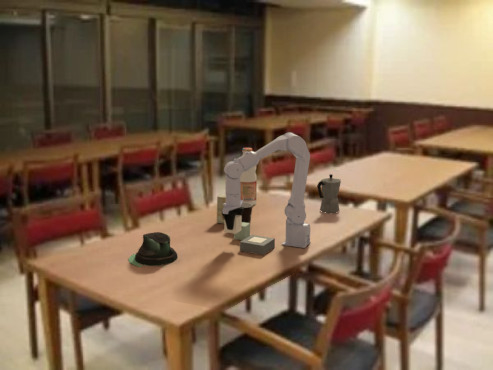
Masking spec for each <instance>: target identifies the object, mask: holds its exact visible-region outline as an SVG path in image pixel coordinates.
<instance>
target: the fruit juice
mask: <svg viewBox="0 0 493 370" xmlns="http://www.w3.org/2000/svg"><path fill="white" fill-rule="evenodd" d="M241 151H242V155H241V156H243V155H245V152H250V151H252V152H253V148H252V147H243V148H242V149H241ZM256 170H257V165H256V166H254V167H252V168H250V169H249V170H247V171H245V172H243V173H242V175H241V176H240V182H241V200H243V203H250V204H252V205H253V206H254V205H256V204H257V190H258V189H257V184H258V183H257V182H258V181H257V180H258V179H257V178H258V175H257V173H256Z"/></svg>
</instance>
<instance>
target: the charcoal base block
mask: <svg viewBox="0 0 493 370" xmlns="http://www.w3.org/2000/svg"><path fill="white" fill-rule="evenodd" d="M275 240H276V238H273V237H268V236H262V235H256V234H250V236H249V237H247V238H246V239H244V240H240V242H239V251H240V252H245V253H249V252H250V254H255V253H256V254H255V255H260V254H261V255H260V256H264V255H266V254H267V253H269V252H270V251H271V249H272V250H273V249H274V247H275V246H276V245H275V242H276V241H275ZM268 251H269V252H268ZM265 253H266V254H265Z"/></svg>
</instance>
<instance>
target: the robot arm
mask: <svg viewBox="0 0 493 370" xmlns="http://www.w3.org/2000/svg"><path fill="white" fill-rule="evenodd" d="M277 151H283V152H287V151H290V152H291V153H292V155H293V156H294V157H295V166H294V173H293V177H292V178H293V179H292V186H291V193H290V197H289V198H288V200H287V205H286V206H285V207H284V215H285V217H286V219H285V239H284V241H283V242H282V243H281V245H282V246H287V247H295V248H303V249H305V248H307V246H309V245H310V244H311V224H310V223H308V222H307V223H306V222H305V221H306V218H307V213H306V203H305V195H306V194H305V193H306V186H307V181H308V174H309V166H310V162H311V161H310V160H311V154H310V151H309V149H308V146H307V143H306V141H305V140H304V139H303V138H302V136H299V135H297V134H295V133H294V132H286V133H284V134H282V135H280V136H278V137H276V138H275V139H273V140H272V141H270V142H269V143H267V144H266V145H264V146H263V147H261V148H259V149H257V150H256V151H253V150H252V151H250V152H245V155H243V154H242V155H243V156H242V155H240V157H239V156H238V157H237V158H233V161H228V162H227V163H226V164H225V165H224V168H223V172H224V173H225V195H226V203H224V204H223V206H224V208H223V211H222V215H223V217H224V219H225V222H226V226H227V229H229V230H233V227H234V219H235V216H236V215H242V213H243V211H244V207H241V206H242V205H243V200H241V182H240V176H241V175H242V173H243V172H245V171H247V170H249V169H250V168H252V167H254V166H256V167H257V165H259V162H260V160H262V159H263V158H265V157H267V156H270V155H271V154H273V153H275V152H277Z"/></svg>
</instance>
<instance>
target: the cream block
mask: <svg viewBox="0 0 493 370" xmlns="http://www.w3.org/2000/svg"><path fill="white" fill-rule="evenodd" d="M223 224H224V225H223V226H224V229H223V232H224V233H226V234H227V233H229V234H233V235H234V234H237V233H238V232H240V231H241V230H242V215H236V216H235V219H234V227H233V230H229V229H227V226H226V222H225V219H224V223H223Z"/></svg>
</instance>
